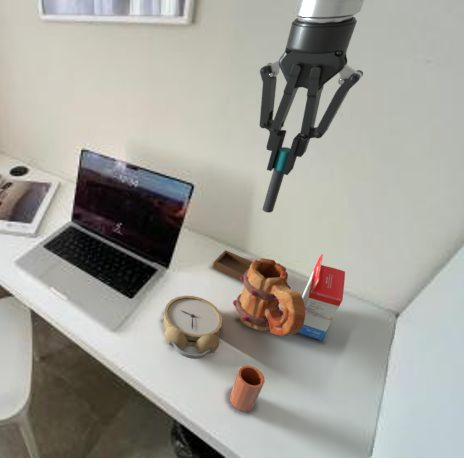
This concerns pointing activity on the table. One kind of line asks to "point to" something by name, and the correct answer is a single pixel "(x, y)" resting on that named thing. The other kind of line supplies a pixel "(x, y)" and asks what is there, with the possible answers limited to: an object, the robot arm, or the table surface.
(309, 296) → the ink box
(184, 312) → the alarm clock
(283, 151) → the marker
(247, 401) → the pen pot
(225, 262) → the pen tray
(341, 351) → the table surface
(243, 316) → the mug
